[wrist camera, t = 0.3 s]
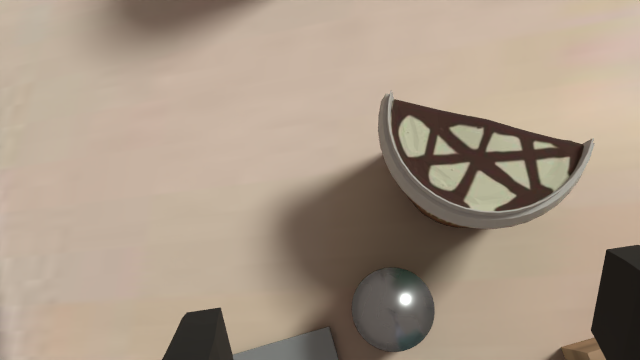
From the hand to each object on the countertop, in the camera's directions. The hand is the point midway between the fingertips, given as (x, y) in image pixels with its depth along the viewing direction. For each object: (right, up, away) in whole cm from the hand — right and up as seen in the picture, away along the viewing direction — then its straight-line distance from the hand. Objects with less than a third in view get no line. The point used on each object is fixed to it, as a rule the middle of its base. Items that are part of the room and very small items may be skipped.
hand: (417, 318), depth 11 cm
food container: (+8, +1, +30) cm, 31 cm away
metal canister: (+3, -6, +29) cm, 29 cm away
